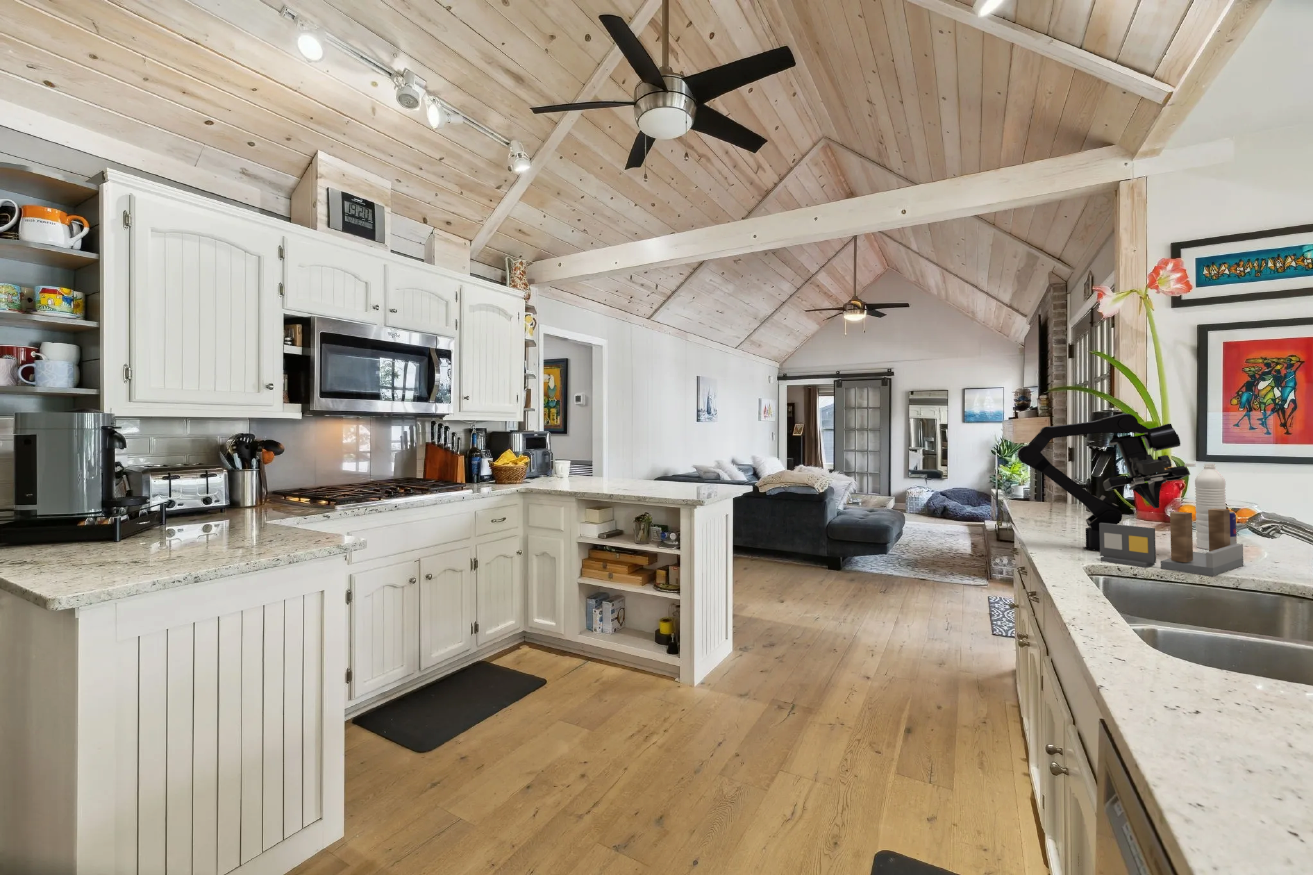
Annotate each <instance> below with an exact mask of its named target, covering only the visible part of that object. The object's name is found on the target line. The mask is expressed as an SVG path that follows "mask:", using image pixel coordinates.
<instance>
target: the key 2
mask: <svg viewBox="0 0 1313 875" xmlns="http://www.w3.org/2000/svg"><path fill="white" fill-rule="evenodd" d="M1208 525H1209V550H1208V552H1210V551H1213V550H1217V549H1220V548H1223V547H1226V546H1230V509H1229V508H1228V509H1227V508H1226V509H1216V508H1213V509H1209V510H1208Z"/></svg>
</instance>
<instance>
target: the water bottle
mask: <svg viewBox="0 0 1313 875" xmlns="http://www.w3.org/2000/svg"><path fill="white" fill-rule="evenodd" d="M1184 466H1185V467H1186V468H1187V467H1190V468H1194V467H1197V463H1194V462H1185V463H1184ZM1194 487H1195V488H1194V490H1195V491H1194V492H1195V512H1196V513H1195V524H1196V526H1195V530H1196V536H1195V537H1196V543H1195V544H1196V547H1197V548H1198V549H1203V550H1208V551H1209V525H1208V510H1209V509H1213V508H1216V509H1227V506H1226V504H1227V503H1226V502H1227V501H1226V479H1225V477H1224V476H1223V475H1222V474H1221V473H1220V472H1219V470H1217V469H1216V464H1215V463H1204V464H1203V468H1202V470H1201V471H1200V472H1199V473H1198V475H1196V476H1195V479H1194Z"/></svg>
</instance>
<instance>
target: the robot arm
mask: <svg viewBox="0 0 1313 875" xmlns="http://www.w3.org/2000/svg"><path fill="white" fill-rule="evenodd" d="M1098 433H1099V434H1113V435H1112V438H1111V439H1110V440H1109V443H1108V445H1109V446H1115V445H1117V446H1118V449H1119V451H1120V453H1121V456H1122V458H1123V466H1124V467H1126V470H1127V471H1128V473H1129V475H1128V477H1126V476H1124V475H1118V476H1113V477H1108V478H1107V479H1105V480H1104V481H1103V483H1102V486H1103V488H1104V491H1108V492H1109V491H1113V490H1118V489H1119V488H1120V486H1126V485H1127V486H1128V485H1129V488H1128V489H1129V491H1134V492H1135V493H1137V494H1138V495H1139V496H1140V497H1141V498H1142V499H1143V500H1145V501H1146V502H1147V503H1148V504H1149V505H1150V506H1151V507H1152V508H1154V509H1159V508H1160V495H1161V487H1162V485H1163V484H1165V483H1167V482H1171V481H1176V480H1182V479H1184V478H1186V477H1188V476H1190V475H1191V473H1190V470H1189V469H1188V468H1187V467H1185V465H1180V466H1179V465H1178V466H1174V467H1172V465H1173V463H1172V460H1171V459H1170V457H1169V455H1166V454H1164V455H1158V456H1157V458H1156V459H1154V458H1153V455H1152V454H1149V453H1148V450H1147V449H1149V450H1150V449H1152V450H1153V451H1154V452H1157V451H1158V452H1159V451H1162V450H1163V451H1164V450H1168V449H1171V448H1178V447H1181V439H1180V436H1179V434H1178V433H1177V432H1176V429H1175V428H1174V427H1173V424H1172V423H1165V424H1162V425H1160V426H1156V427H1154V426H1153V427H1151V428H1148V427H1147V426H1145V425H1143V424H1141V423H1139V421H1138V418H1137V417H1135V415H1133V414H1130V413H1120V414H1115V415H1111V416H1108V417H1104V418H1100V419H1097V420H1093V421H1092V420H1091V421H1085V422H1078V423H1070V424H1069V423H1068V424H1062V425H1053V426H1051V425H1048V426H1044V427H1041V429H1040V431H1039V432H1038V433H1037V434H1036V435H1035V437H1034V438H1033V439H1032V440H1030V442H1029V443H1027V445H1022V446H1021V447H1020V448H1019V449H1018V450H1017V453H1016V454H1017V459H1018V460H1019V461H1020V462H1022V464H1025V465H1026V466H1028V467H1031V468H1032V469H1034V470H1035V471H1037V472H1040V473H1042V474H1043V475H1044V476H1045V477H1047V478H1048V479H1050V480H1051V481H1053V482H1054V483H1055V484H1056V485H1058V486H1059V487H1060V488H1062V489H1063V490H1064V491H1066V492H1067V493H1069V495H1071V496H1072V497H1074V498H1075V499H1076V500H1078V501H1079V502H1080V503H1081V504H1083V505H1084V506H1085V508H1086V509H1087V510H1088V511H1089V512H1090V513H1091V515H1090V516H1089V517H1088V518H1085V522H1086V525H1087V526H1088V527H1085V546H1083V548H1082V549H1084V550H1090V551H1097V552H1100V533H1099V523H1108V524H1118V525H1119V524H1120V522H1121V521H1122V519H1123V513H1122V511H1121V510H1120V509H1119V508H1120V506H1119V505H1117V504H1115V503H1113V502H1112V501H1111V500H1110V499H1109V498H1108V497H1107V496H1105V495H1103V494H1102V495H1101V496H1100V497H1098V496H1095V495H1093V494H1092V493H1091V492H1089V491H1088V490H1086V488H1084V487H1082V486H1081V485H1080V484H1078V483H1077V482H1076V481H1074V480H1073V479H1072V478H1071V477H1069V476H1068V475H1067V474H1065V473H1064V472H1063V471H1061V470H1060V469H1058V468H1057V467H1056V466H1055V465H1053V464H1052V463H1051V462H1050V461H1049V459H1048V458H1046V456H1045V455H1044V454H1043V453H1042V451H1043V450H1044V449H1045V448H1046V446H1047V445H1048V444H1049V443H1050V442H1051V441H1052V439H1058V438H1065V437H1073V436H1082V435H1090V434H1098ZM1129 433H1132V434H1139V435H1134V436H1132V435H1131V434H1129ZM1115 434H1125V435H1122V436H1117V435H1115ZM1143 439H1144V440H1143ZM1165 468H1167V469H1165Z"/></svg>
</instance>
